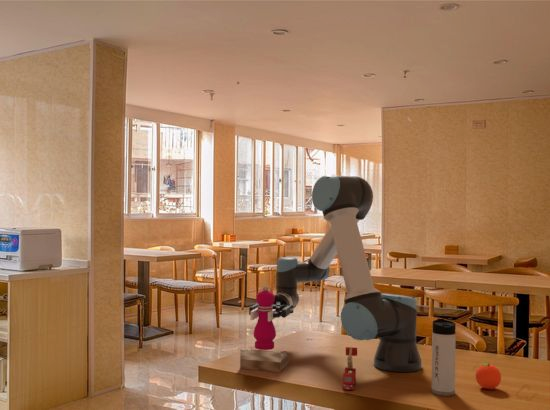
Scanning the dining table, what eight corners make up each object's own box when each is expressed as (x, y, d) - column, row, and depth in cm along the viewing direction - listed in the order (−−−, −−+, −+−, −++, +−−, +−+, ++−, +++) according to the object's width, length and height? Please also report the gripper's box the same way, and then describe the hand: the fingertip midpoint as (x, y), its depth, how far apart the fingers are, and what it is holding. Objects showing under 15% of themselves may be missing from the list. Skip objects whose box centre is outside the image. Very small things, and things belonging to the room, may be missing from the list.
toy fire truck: (342, 390, 164) (342, 356, 164) (346, 377, 178) (346, 345, 178) (354, 391, 164) (354, 356, 164) (357, 377, 177) (357, 345, 177)
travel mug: (450, 388, 167) (451, 318, 167) (458, 396, 161) (459, 322, 161) (428, 388, 167) (429, 318, 167) (435, 396, 160) (436, 322, 160)
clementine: (467, 387, 169) (467, 362, 169) (478, 382, 174) (479, 358, 174) (494, 394, 163) (494, 368, 163) (505, 389, 168) (505, 364, 168)
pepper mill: (279, 347, 191) (281, 285, 190) (267, 351, 184) (269, 287, 184) (261, 343, 194) (262, 283, 194) (248, 348, 188) (250, 285, 188)
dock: (288, 363, 193) (288, 344, 193) (279, 372, 182) (280, 352, 182) (250, 359, 196) (251, 341, 196) (240, 368, 185) (240, 349, 185)
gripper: (304, 317, 204) (287, 330, 182) (254, 313, 209) (232, 326, 187) (304, 295, 204) (288, 306, 182) (255, 292, 209) (233, 302, 187)
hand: (260, 316), depth 184 cm, fingers closed on pepper mill, 5 cm apart
